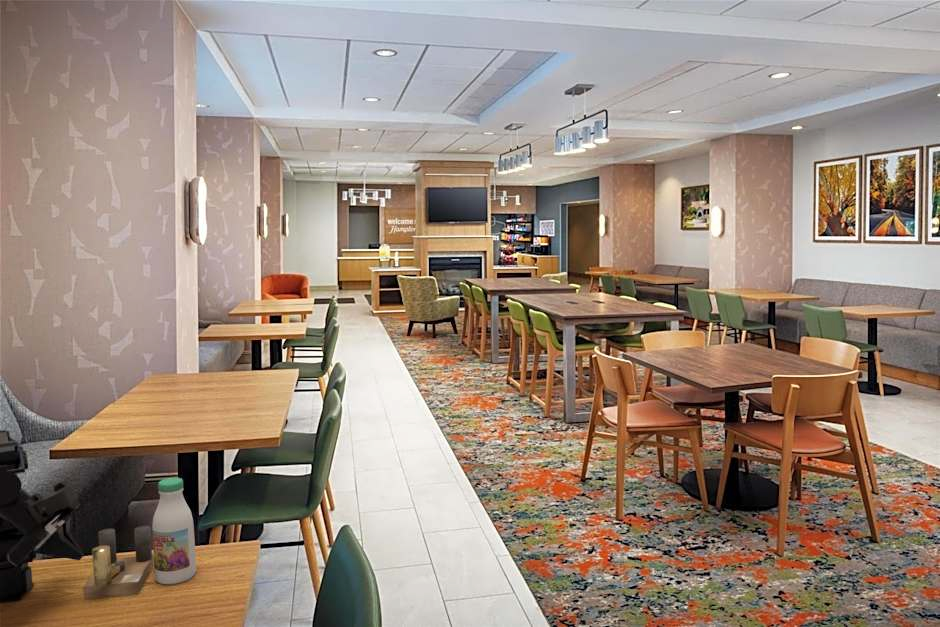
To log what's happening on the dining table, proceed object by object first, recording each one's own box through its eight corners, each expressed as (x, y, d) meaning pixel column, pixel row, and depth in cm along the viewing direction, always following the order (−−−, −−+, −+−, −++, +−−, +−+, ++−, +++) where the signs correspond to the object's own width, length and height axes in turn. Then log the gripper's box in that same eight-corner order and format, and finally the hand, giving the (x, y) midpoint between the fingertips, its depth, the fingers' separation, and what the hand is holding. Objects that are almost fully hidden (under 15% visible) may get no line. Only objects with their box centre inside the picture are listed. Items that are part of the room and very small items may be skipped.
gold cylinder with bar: (109, 570, 139) (106, 539, 139) (123, 571, 139) (121, 539, 138) (90, 585, 133) (88, 552, 133) (105, 585, 133) (103, 552, 133)
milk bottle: (167, 567, 147) (162, 474, 145) (203, 568, 146) (198, 474, 144) (147, 584, 139) (141, 486, 137) (184, 586, 139) (179, 487, 137)
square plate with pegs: (83, 599, 134) (80, 553, 133) (104, 571, 146) (101, 529, 145) (138, 594, 136) (136, 549, 135) (155, 566, 147) (152, 524, 146)
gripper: (21, 491, 122) (93, 548, 125) (66, 458, 140) (128, 508, 143) (-25, 538, 122) (48, 594, 124) (26, 498, 140) (89, 548, 143)
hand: (81, 557), depth 134 cm, fingers closed
